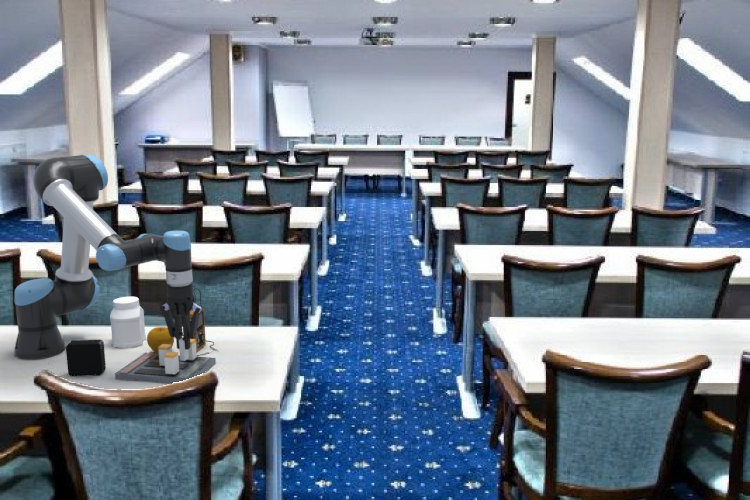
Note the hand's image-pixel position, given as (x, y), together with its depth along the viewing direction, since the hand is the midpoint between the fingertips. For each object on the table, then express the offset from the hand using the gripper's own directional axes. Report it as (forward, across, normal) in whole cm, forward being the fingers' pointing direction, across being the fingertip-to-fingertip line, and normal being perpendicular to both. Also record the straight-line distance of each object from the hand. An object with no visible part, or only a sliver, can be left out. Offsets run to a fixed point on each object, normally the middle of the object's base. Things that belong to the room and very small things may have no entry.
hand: (184, 359), depth 230 cm
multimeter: (+5, -2, +21) cm, 21 cm away
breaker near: (+2, -1, -6) cm, 6 cm away
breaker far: (+2, -1, +6) cm, 6 cm away
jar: (+5, -31, +22) cm, 38 cm away
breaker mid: (+2, -6, 0) cm, 6 cm away
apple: (+5, -15, +14) cm, 21 cm away
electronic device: (+5, -29, -6) cm, 30 cm away
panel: (+4, -6, 0) cm, 7 cm away
